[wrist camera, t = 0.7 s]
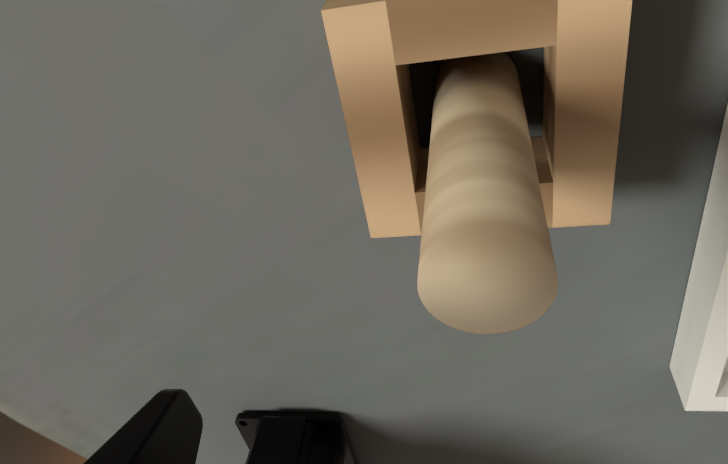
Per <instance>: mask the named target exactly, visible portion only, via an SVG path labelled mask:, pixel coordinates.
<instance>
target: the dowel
mask: <svg viewBox="0 0 728 464" xmlns="http://www.w3.org/2000/svg"><path fill="white" fill-rule="evenodd" d="M417 288H418V293H419V297H420V299H421V301H422V303H423V305H424V306H425V308H426V309H427V310H428V311H429V312H430V313H431V314H432V315H433V316H434V317H435V318H436V319H438V320H439V321H441V322H442V323H444V324H446V325H448V326H450V327H453V328H455V329H458V330H461V331H465V332H470V333H477V334H499V333H505V332H510V331H514V330H517V329H520V328H522V327H524V326H527V325H529V324H531V323H532V322H534V321H536V320H537V319H538V318H540V317H541V316H542V315H543V314H544V313H545V312H546V311H547V310H548V309H549V307H550V306H551V305H552V303H553V301H554V299H555V297H556V293H557V288H558V278H557V273H556V268H555V263H554V258H553V252H552V247H551V242H550V237H549V232H548V227H547V221H546V216H545V211H544V206H543V201H542V196H541V191H540V185H539V180H538V175H537V170H536V165H535V160H534V154H533V149H532V144H531V139H530V134H529V129H528V124H527V118H526V113H525V108H524V103H523V98H522V93H521V87H520V82H519V77H518V73H517V69H516V67H515V65H514V63H513V61H512V60H511V59H510V58H509V57H508V56H507V55H506V54H505V53H504V52H499V53H491V54H483V55H475V56H467V57H459V58H451V59H446V60H445V61H444V62H443V64H442V65H441V67H440V69H439V71H438V73H437V76H436V81H435V92H434V103H433V114H432V125H431V136H430V147H429V158H428V170H427V181H426V192H425V203H424V214H423V225H422V236H421V247H420V258H419V269H418V280H417Z"/></svg>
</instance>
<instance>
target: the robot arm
mask: <svg viewBox="0 0 728 464" xmlns="http://www.w3.org/2000/svg"><path fill="white" fill-rule="evenodd" d="M235 424H236V425H237V427H238V429H239V431H240V433H241V435H242V437H243V438H244V440H245V442H246V444H247V446H248V448H249V450H250V451H249V454H248V457H247V460H246V464H357V461H356V458H355V455H354V452H353V449H352V447H351V444H350V441H349V438H348V435H347V432H346V429H345V426H344V423H343V420H342V418H341V417H340V416H339V415H336V414H315V413H239V414H238V415H237V417H236V420H235ZM202 427H203V422H202V417H201V414H200V412H199V411H198V409H197V408H196V406H195V404H194V403H193V401H192V400H191V398H190V396H189V395H188V393H187V392H186V391H185V390H183V389H165V390H162V391H160V392H158V393H157V394H156V395H155V396H154V397H153V398H152V399H151V400H150V401H149V402H148V403H147V404H145V405H144V406H143V407H142V408H141V409H140V410H139V411H138V412H137V413H136V414H135V415H134V416H133V417H132V418H131V419H130V420H129V421H128V422H127V423H126V424H124V425H123V426H122V427H121V428H120V429H119V430H118V431H117V432H116V433H115V434H114V435H113V436H112V437H111V438H110V439H109V440H108V441H107V442H106V443H105V444H103V445H102V446H101V447H100V448H99V449H98V450H97V451H96V452H95V453H94V454H93V455H92V456H91V457H90V458H89V459H88V460H87V461H86V462H85V463H84V464H195V462H196V458H197V453H198V448H199V443H200V438H201V433H202Z"/></svg>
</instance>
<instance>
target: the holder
mask: <svg viewBox="0 0 728 464" xmlns="http://www.w3.org/2000/svg"><path fill="white" fill-rule="evenodd" d="M631 10H632V0H327V2H326V3H325V5H324V6H323V8H322V9H321V13H322V17H323V22H324V27H325V31H326V36H327V40H328V45H329V49H330V54H331V58H332V63H333V67H334V72H335V77H336V81H337V86H338V90H339V95H340V99H341V104H342V108H343V113H344V117H345V122H346V127H347V131H348V136H349V140H350V145H351V149H352V154H353V158H354V163H355V167H356V172H357V176H358V181H359V186H360V190H361V195H362V199H363V204H364V208H365V213H366V217H367V222H368V226H369V231H370V236H371V238H381V237H399V236H416V235H422V225H423V214H424V203H425V192H426V181H427V170H428V158H429V147H422V148H420V144H419V137H418V130H417V122H416V115H415V108H414V100H413V93H412V86H411V79H410V71H409V64H411V63H419V62H427V61H435V60H443V59H451V58H459V57H467V56H475V55H483V54H491V53H499V52H508V51H516V50H524V49H532V48H540V47H544V76H543V137H532V138H530V139H531V144H532V149H533V154H534V160H535V165H536V170H537V175H538V180H539V185H540V191H541V196H542V201H543V206H544V211H545V216H546V221H547V227H548V228H555V227H572V226H590V225H607V224H610V219H611V209H612V199H613V189H614V179H615V169H616V159H617V149H618V139H619V129H620V119H621V109H622V99H623V89H624V79H625V70H626V60H627V50H628V40H629V30H630V20H631Z"/></svg>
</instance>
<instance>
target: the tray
mask: <svg viewBox="0 0 728 464" xmlns="http://www.w3.org/2000/svg"><path fill="white" fill-rule="evenodd" d="M669 367H670V370H671V372H672V375H673V378H674V381H675V384H676V386H677V389H678V392H679V395H680V398H681V400H682V403H683V406H684V409H685V411H728V104H727V108H726V113H725V117H724V122H723V126H722V131H721V135H720V140H719V145H718V149H717V154H716V158H715V163H714V167H713V172H712V176H711V181H710V185H709V190H708V194H707V199H706V203H705V208H704V212H703V217H702V221H701V226H700V231H699V235H698V240H697V244H696V249H695V253H694V258H693V262H692V267H691V271H690V276H689V280H688V285H687V289H686V294H685V298H684V303H683V308H682V312H681V317H680V321H679V326H678V330H677V335H676V339H675V344H674V348H673V353H672V357H671V362H670V366H669Z"/></svg>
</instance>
